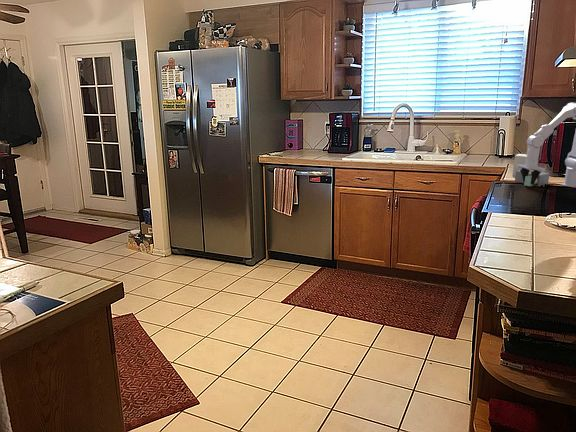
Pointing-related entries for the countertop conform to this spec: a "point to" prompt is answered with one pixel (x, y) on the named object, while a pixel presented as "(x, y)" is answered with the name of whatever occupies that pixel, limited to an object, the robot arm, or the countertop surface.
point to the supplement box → (519, 162)
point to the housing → (542, 176)
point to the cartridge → (528, 181)
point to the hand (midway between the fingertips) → (528, 183)
